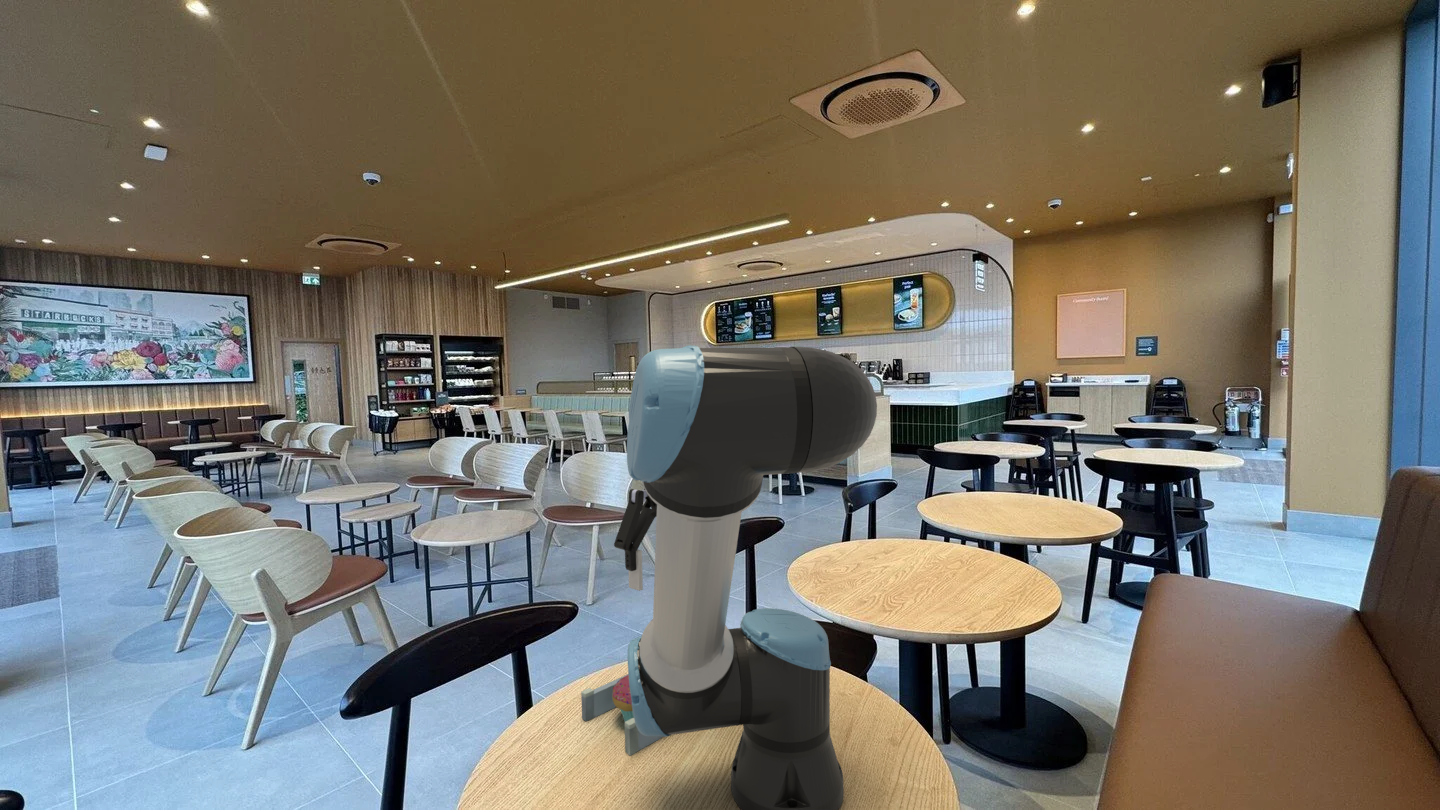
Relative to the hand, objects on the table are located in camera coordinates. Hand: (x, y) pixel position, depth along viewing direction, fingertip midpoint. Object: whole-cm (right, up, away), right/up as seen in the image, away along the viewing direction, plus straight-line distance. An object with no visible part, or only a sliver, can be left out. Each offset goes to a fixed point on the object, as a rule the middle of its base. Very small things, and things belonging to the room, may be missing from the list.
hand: (666, 578), depth 101 cm
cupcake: (-4, -22, -6) cm, 23 cm away
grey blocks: (-4, -21, -6) cm, 22 cm away
